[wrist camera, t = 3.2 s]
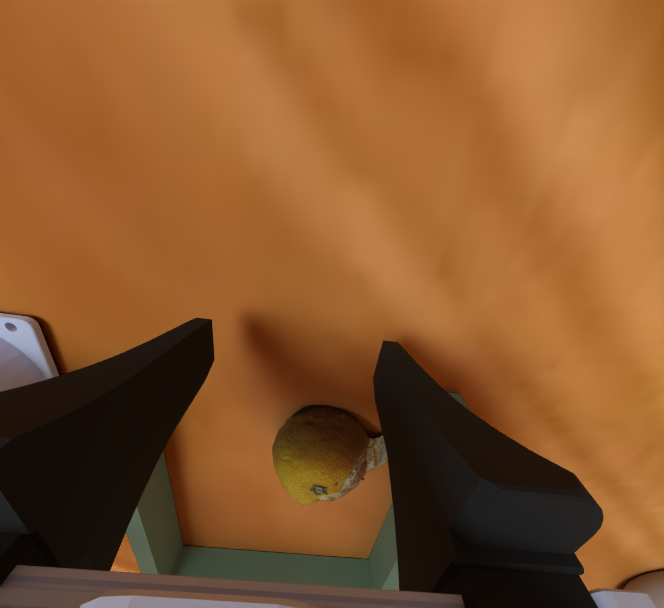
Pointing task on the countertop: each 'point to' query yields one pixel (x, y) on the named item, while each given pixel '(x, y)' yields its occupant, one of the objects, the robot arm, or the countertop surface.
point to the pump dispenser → (649, 586)
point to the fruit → (324, 454)
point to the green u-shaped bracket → (175, 559)
